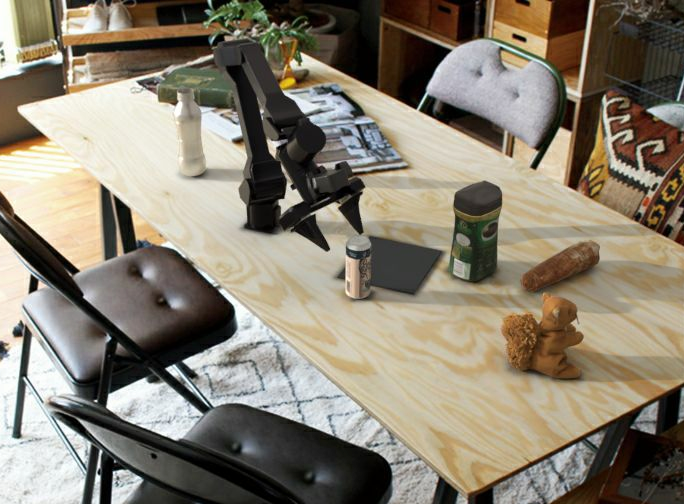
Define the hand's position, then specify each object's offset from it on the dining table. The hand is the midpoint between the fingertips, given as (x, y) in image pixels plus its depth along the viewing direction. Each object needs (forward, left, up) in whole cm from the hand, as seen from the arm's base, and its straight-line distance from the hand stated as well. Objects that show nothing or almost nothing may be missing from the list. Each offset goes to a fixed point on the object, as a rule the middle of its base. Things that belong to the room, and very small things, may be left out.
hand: (345, 242), depth 195 cm
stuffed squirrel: (+41, -10, -10) cm, 44 cm away
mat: (+5, +12, -10) cm, 16 cm away
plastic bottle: (-52, +33, -10) cm, 62 cm away
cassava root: (+38, +20, -10) cm, 44 cm away
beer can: (+3, -1, -10) cm, 11 cm away
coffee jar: (+21, +16, -10) cm, 28 cm away
